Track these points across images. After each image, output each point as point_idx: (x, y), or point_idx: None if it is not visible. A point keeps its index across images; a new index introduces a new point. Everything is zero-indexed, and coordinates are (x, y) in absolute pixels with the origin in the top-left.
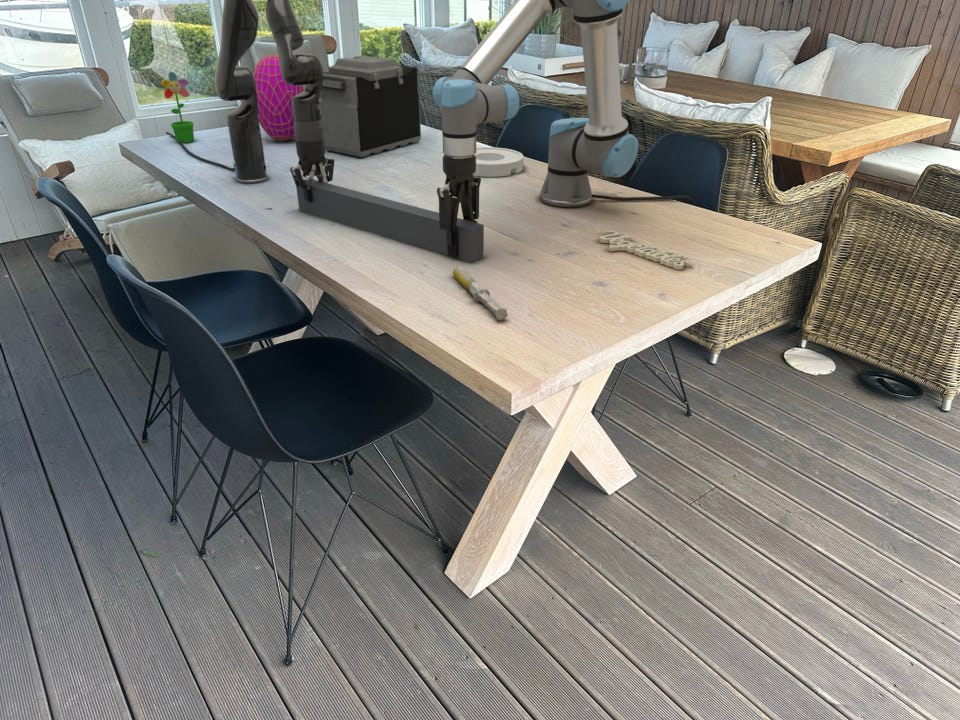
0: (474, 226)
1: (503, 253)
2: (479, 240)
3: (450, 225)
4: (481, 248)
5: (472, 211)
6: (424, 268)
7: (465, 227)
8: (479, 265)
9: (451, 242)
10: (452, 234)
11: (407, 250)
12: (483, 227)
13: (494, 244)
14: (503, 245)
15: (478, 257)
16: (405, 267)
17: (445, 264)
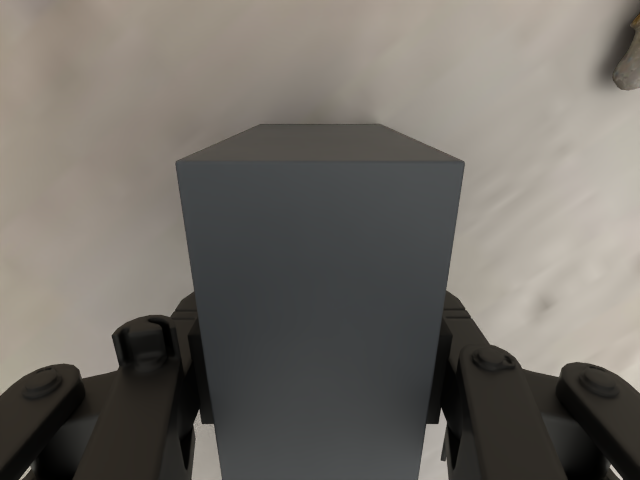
0: (326, 220)
1: (103, 58)
2: (295, 137)
3: (601, 410)
4: (273, 129)
5: (87, 477)
6: (582, 285)
7: (432, 284)
8: (381, 59)
9: (454, 300)
10: (465, 339)
11: (422, 456)
12: (194, 156)
13: (45, 205)
14: (6, 150)
15: (312, 125)
16: (609, 356)
17: (480, 236)
